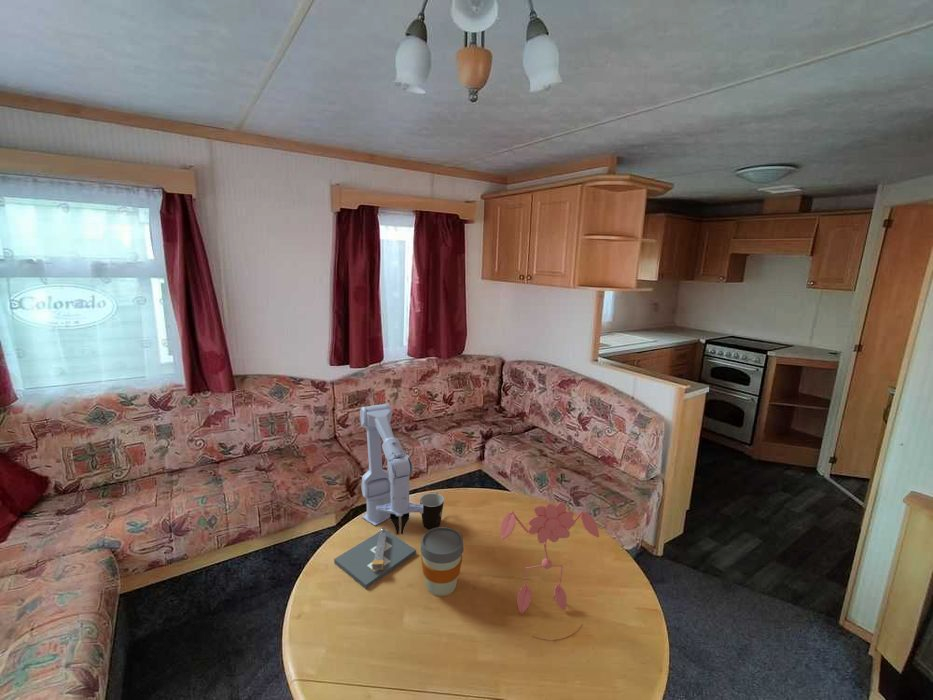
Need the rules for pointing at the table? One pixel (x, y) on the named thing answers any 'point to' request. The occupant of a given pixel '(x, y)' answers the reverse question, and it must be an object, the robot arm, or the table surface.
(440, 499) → the coffee mug
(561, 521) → the figurine
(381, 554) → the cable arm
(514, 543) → the table surface
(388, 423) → the robot arm
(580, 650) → the table surface
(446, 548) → the reusable coffee cup
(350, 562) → the label panel
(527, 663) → the table surface
